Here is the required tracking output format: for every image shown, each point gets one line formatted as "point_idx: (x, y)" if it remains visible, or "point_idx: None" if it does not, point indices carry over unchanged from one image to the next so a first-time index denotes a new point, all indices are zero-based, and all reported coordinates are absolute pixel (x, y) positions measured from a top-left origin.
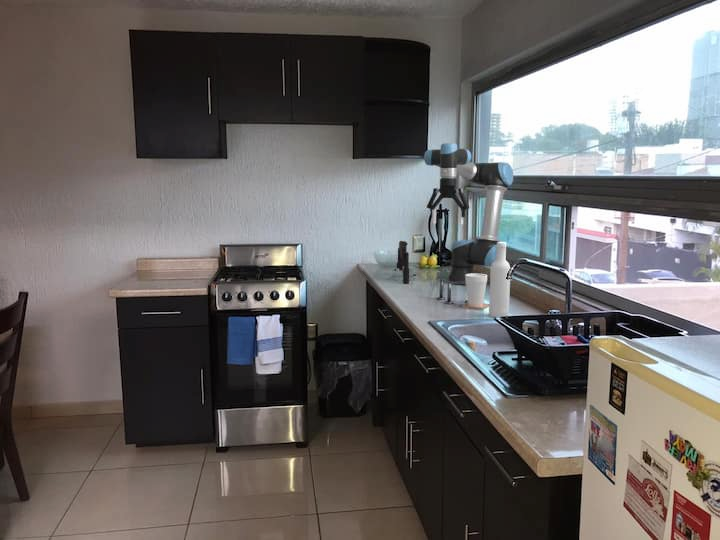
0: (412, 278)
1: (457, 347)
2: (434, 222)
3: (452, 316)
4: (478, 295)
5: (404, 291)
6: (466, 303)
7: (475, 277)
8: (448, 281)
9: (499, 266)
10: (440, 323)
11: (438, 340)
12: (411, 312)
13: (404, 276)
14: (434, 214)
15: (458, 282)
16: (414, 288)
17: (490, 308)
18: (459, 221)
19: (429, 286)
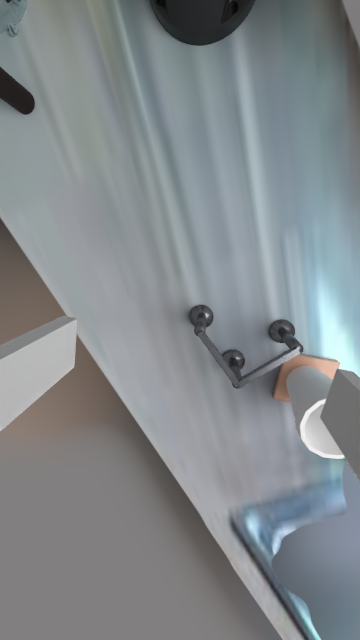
0: (12, 16)
1: (304, 631)
2: (70, 352)
3: (265, 475)
4: None
5: (78, 248)
6: (280, 375)
7: (336, 457)
8: (233, 377)
9: None
10: (254, 526)
11: (271, 609)
12: (179, 466)
13: (6, 101)
14: (21, 393)
15: (263, 373)
16: (85, 187)
17: (352, 471)
18: (333, 437)
19: (114, 126)
